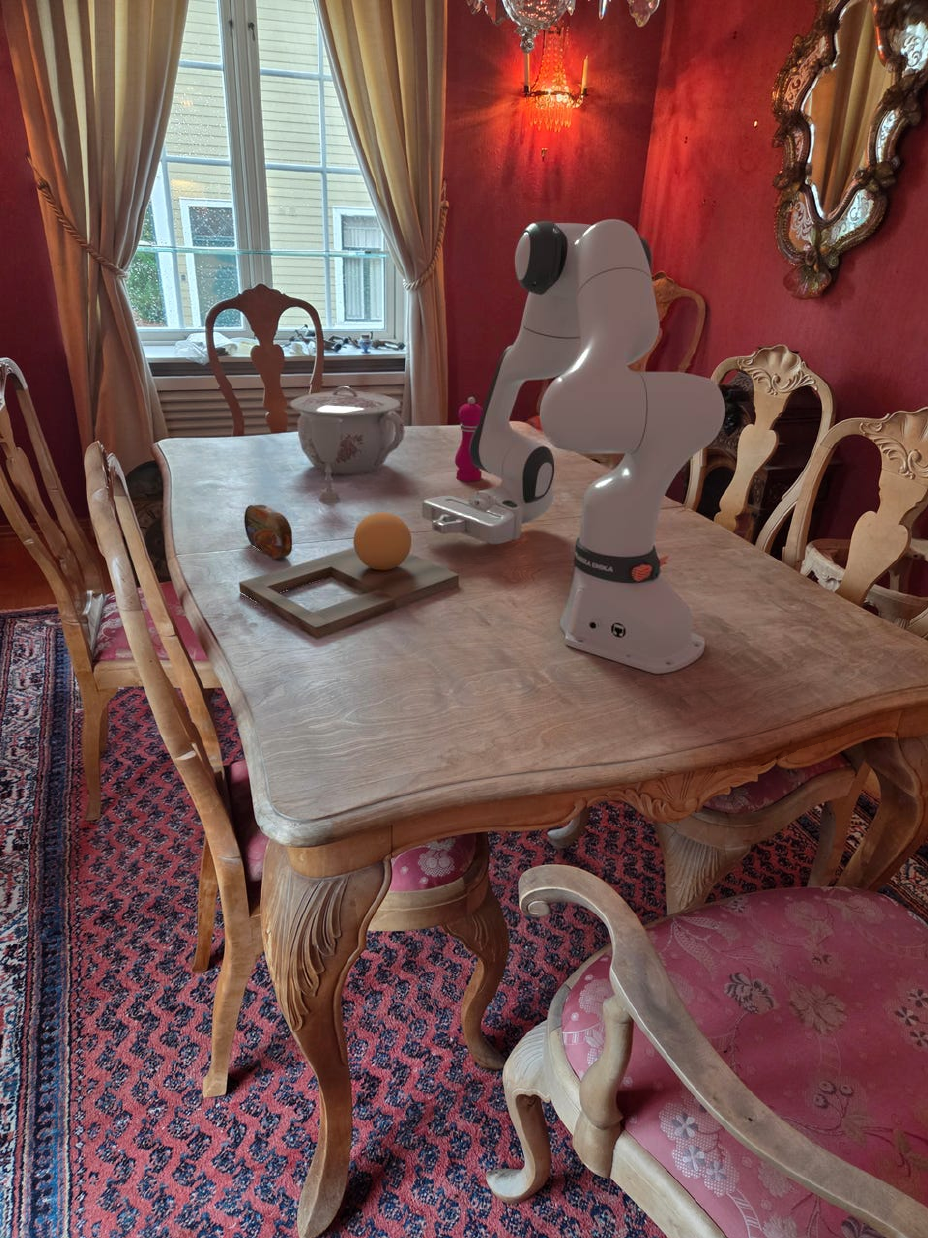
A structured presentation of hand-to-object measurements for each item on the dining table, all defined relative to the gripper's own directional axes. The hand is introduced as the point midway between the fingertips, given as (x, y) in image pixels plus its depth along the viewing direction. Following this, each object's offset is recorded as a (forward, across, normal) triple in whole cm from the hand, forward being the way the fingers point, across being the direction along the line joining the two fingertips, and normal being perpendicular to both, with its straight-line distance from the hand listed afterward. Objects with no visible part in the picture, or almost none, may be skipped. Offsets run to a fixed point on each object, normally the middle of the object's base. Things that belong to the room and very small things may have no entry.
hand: (437, 527), depth 141 cm
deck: (+19, 0, +6) cm, 20 cm away
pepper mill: (-43, -34, +7) cm, 55 cm away
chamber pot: (-25, -60, +7) cm, 65 cm away
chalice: (-6, -42, +7) cm, 43 cm away
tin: (+21, -24, +7) cm, 33 cm away
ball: (+13, 0, -1) cm, 13 cm away
